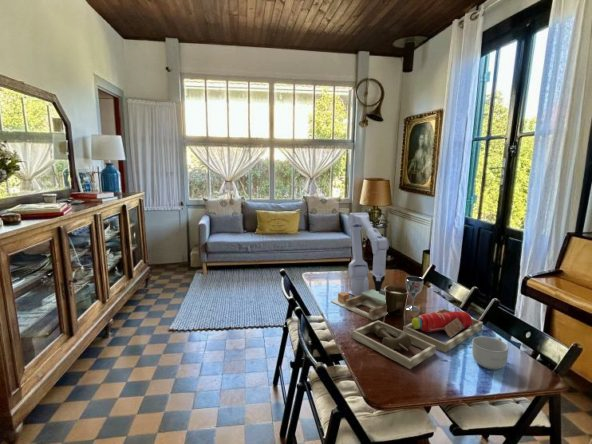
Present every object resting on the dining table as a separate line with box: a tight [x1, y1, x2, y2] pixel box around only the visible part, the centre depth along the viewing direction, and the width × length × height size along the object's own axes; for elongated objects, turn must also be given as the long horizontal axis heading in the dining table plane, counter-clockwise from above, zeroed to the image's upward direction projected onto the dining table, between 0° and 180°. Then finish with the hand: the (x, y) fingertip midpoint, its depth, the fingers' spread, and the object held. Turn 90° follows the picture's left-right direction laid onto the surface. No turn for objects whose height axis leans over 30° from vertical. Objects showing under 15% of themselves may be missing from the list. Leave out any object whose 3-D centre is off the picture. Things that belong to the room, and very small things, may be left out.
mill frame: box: [352, 319, 436, 370], centre depth 126 cm, size 16×26×3 cm, turn 38°
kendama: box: [369, 321, 412, 352], centre depth 127 cm, size 6×10×20 cm
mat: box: [330, 297, 351, 308], centre depth 167 cm, size 10×8×1 cm
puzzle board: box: [343, 295, 389, 321], centre depth 160 cm, size 20×18×4 cm
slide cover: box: [361, 288, 386, 304], centre depth 163 cm, size 8×16×3 cm, turn 38°
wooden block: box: [337, 291, 350, 303], centre depth 167 cm, size 4×4×4 cm
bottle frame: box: [402, 307, 484, 353], centre depth 138 cm, size 31×18×3 cm, turn 128°
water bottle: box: [411, 310, 473, 339], centre depth 137 cm, size 12×8×25 cm
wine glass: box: [404, 275, 424, 312], centre depth 160 cm, size 8×8×15 cm
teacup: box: [471, 335, 509, 370], centre depth 115 cm, size 14×11×8 cm
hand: (377, 290), depth 157 cm, fingers closed
